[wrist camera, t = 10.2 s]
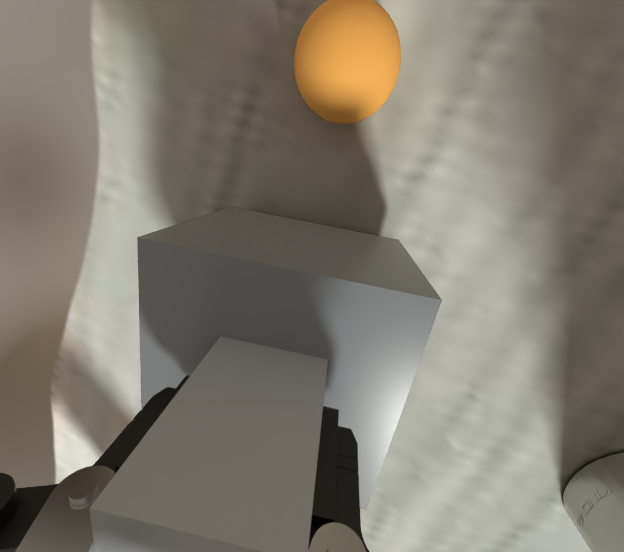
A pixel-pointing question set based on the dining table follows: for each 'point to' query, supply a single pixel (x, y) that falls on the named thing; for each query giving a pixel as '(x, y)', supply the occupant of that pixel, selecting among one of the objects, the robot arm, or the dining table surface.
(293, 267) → the grey stepped block
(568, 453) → the dining table surface
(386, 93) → the ball
